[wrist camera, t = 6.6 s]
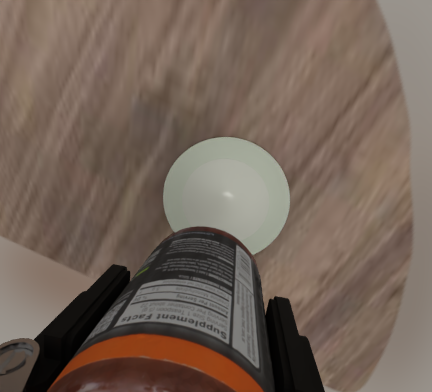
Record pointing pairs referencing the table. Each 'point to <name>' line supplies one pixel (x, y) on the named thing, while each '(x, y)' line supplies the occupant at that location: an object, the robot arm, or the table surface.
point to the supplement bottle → (181, 324)
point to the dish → (228, 191)
